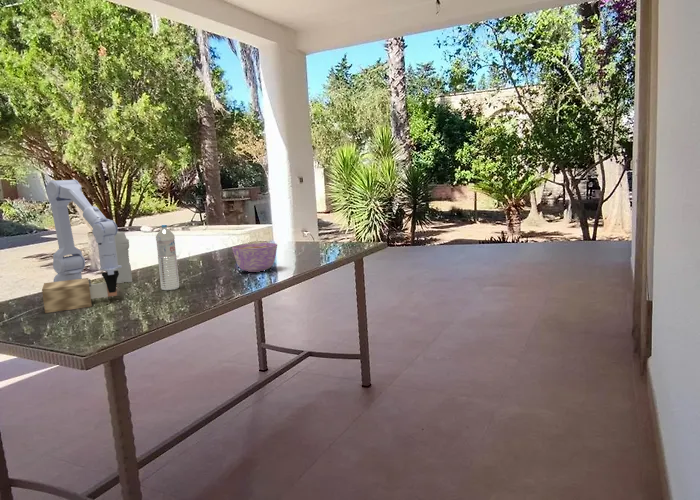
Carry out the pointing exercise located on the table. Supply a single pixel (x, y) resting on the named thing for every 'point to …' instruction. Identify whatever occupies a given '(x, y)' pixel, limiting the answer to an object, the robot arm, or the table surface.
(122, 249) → the tall pale column
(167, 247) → the water bottle
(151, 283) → the table surface
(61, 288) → the ticket box
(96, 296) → the ticket
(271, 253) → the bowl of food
